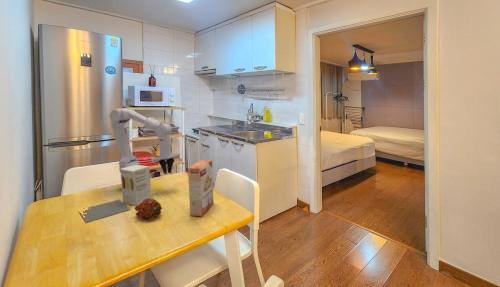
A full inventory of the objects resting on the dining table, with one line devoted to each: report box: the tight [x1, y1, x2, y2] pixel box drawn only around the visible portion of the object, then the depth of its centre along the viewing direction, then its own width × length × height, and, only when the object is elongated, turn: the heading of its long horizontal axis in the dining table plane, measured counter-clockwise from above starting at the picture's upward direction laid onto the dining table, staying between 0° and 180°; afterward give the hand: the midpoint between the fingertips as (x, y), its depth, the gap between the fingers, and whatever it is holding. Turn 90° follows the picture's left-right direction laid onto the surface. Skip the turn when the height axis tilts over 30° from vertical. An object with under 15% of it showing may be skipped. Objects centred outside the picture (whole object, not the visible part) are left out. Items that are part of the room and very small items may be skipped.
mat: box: [81, 199, 131, 224], centre depth 113 cm, size 16×17×1 cm
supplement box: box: [119, 164, 153, 207], centre depth 121 cm, size 10×9×17 cm
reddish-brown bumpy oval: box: [134, 198, 163, 220], centre depth 105 cm, size 8×8×12 cm
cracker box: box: [187, 159, 214, 217], centre depth 110 cm, size 14×6×21 cm, turn 168°
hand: (167, 173), depth 132 cm, fingers closed
